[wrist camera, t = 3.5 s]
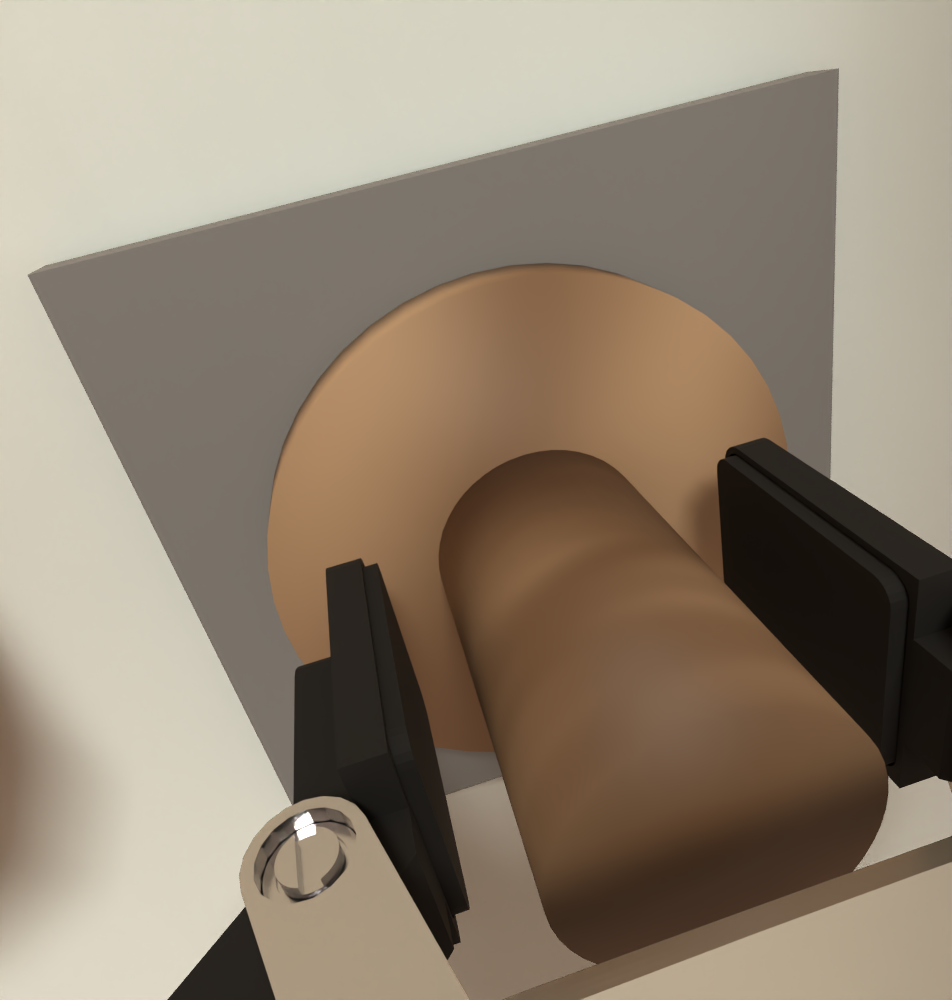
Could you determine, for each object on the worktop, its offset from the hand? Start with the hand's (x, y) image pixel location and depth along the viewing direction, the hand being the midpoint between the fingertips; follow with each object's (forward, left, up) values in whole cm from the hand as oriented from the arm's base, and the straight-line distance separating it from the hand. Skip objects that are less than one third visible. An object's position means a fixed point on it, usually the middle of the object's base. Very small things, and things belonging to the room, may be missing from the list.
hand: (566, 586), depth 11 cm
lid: (0, 0, -2) cm, 2 cm away
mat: (0, 0, -3) cm, 3 cm away
